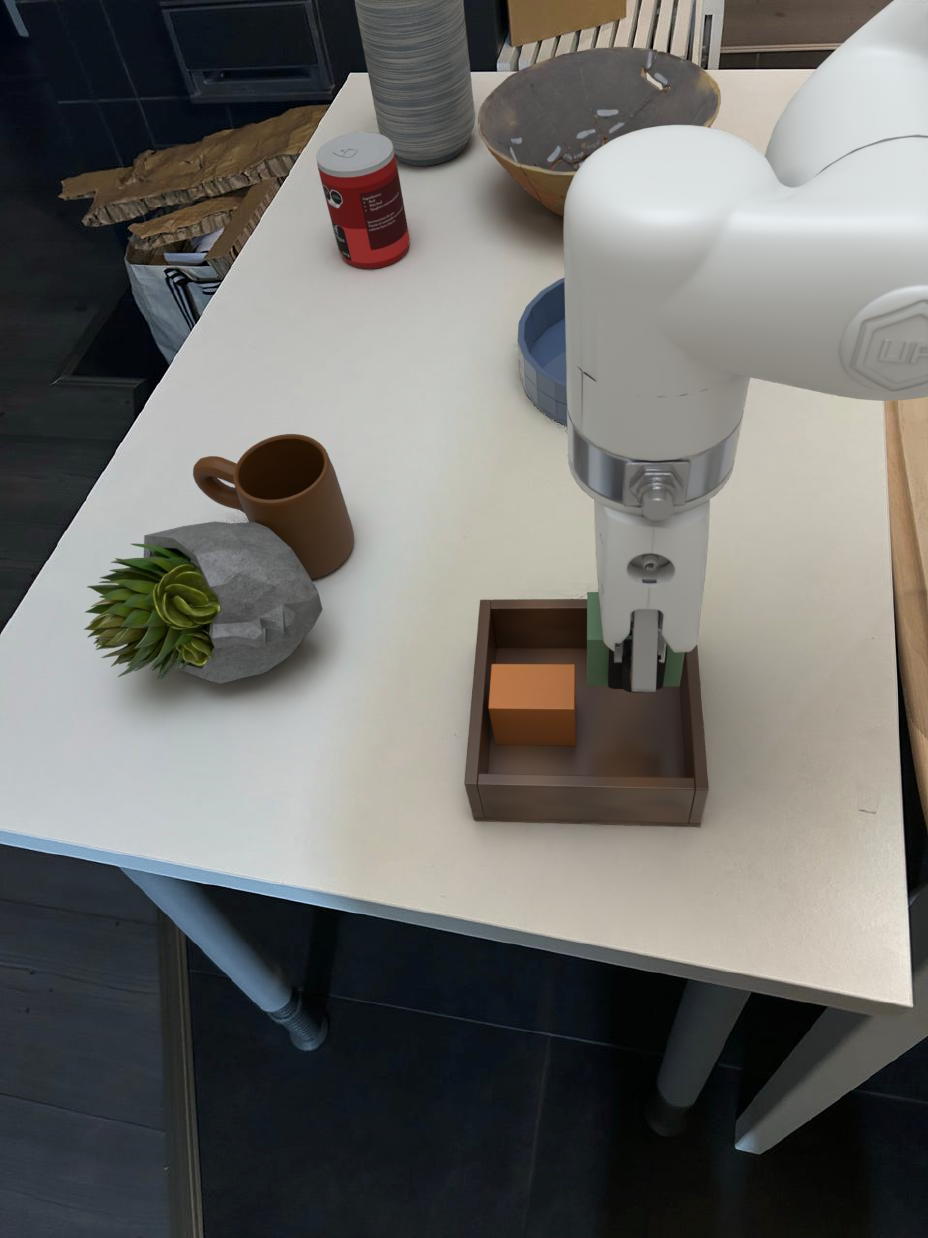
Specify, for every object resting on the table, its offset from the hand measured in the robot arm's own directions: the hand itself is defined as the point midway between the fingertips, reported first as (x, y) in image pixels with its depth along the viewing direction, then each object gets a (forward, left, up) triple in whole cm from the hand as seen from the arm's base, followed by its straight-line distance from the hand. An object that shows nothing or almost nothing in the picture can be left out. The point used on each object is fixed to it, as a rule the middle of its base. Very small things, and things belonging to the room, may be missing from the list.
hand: (634, 654), depth 56 cm
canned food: (+26, -59, -10) cm, 65 cm away
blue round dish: (0, -38, -9) cm, 39 cm away
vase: (+22, -80, -10) cm, 84 cm away
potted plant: (+30, -6, -9) cm, 32 cm away
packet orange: (+6, 0, -9) cm, 11 cm away
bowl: (+2, -67, -10) cm, 68 cm away
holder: (+3, 0, -9) cm, 10 cm away
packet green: (0, 0, -1) cm, 1 cm away
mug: (+28, -17, -10) cm, 34 cm away
